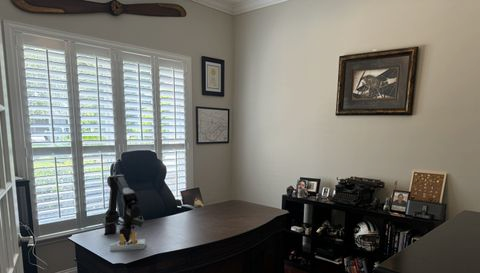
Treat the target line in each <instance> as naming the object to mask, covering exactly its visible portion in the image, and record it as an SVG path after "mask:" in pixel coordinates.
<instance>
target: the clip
mask: <svg viewBox="0 0 480 273" xmlns="http://www.w3.org/2000/svg"><path fill="white" fill-rule="evenodd" d="M119 239H120V241H121V244H125V238H124V236H123V234H119ZM130 239H131V240H132V244H135V243H136V240H137V232H132V233H131V234H130Z"/></svg>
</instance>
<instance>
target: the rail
mask: <svg viewBox="0 0 480 273" xmlns="http://www.w3.org/2000/svg"><path fill="white" fill-rule="evenodd" d="M145 246H146V239H145V238H143V239H136V243H135V244H132V239H130V240H129V242H126V240H125V244H121V240H113V241H112V242H111V244H110V245H109V252H115V251H130V250H131V251H133V250H134V251H135V250H144V249H145Z"/></svg>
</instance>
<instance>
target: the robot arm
mask: <svg viewBox="0 0 480 273" xmlns="http://www.w3.org/2000/svg"><path fill="white" fill-rule="evenodd" d="M106 180H107V181H106V182H107V185H108V187H109V198H108V199H109V200H108V209H107V211H106V212H105V213H104V214H105V215H104V217H103V219H102V225H103V226H104V234H103V235H104V236H107V235H108V236H109V235H110V236H111V235H115V234H116V233H117V232H118V225H117V224H119V223H120V215H119V212H118V211H117V204H118V194H119V190H120V192H121V196H120V200H121V201H120V202H121V203H122V207H123V209H122V210H123V211H122V222H123V223H122V227H121V228H119V235H121V234H123V236H124V238H125V240H126V242H129V240H131V238H130V234H131V233H134V232H133V231H134V229H135V227H139V228H142V226H143V225H144V222H145V219H144V216H142V215H141V214H142V213H141V212H142V211H141V209H140V208H139V207H138V205H139V199H138V196H137V194H136V192H135V191H134V190H133V189H131V188H130V187H129V185H128V183H127V181H126V179H125V175H124V174H117V175H108V177H107V179H106Z"/></svg>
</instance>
